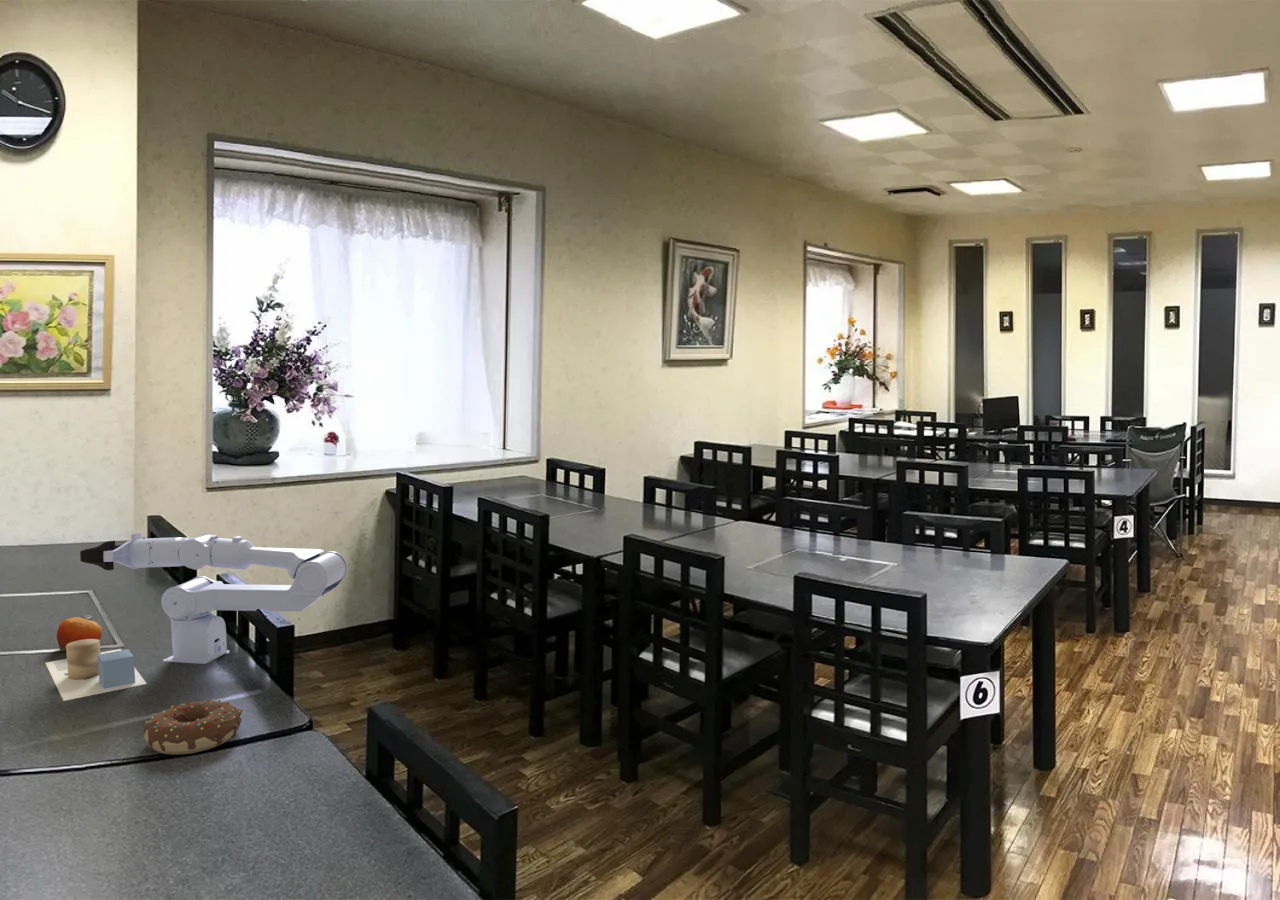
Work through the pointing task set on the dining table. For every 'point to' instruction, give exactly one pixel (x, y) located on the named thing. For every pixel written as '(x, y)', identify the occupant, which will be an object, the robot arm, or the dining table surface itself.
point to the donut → (192, 727)
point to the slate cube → (116, 668)
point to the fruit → (77, 631)
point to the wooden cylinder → (83, 659)
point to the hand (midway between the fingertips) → (95, 554)
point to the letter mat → (82, 681)
